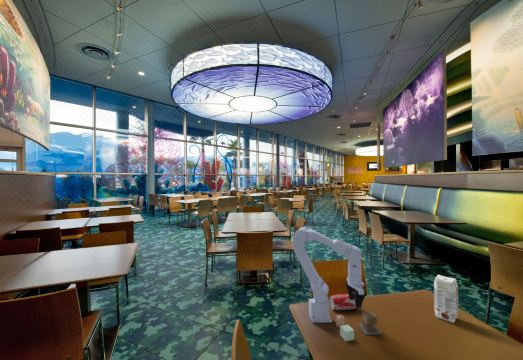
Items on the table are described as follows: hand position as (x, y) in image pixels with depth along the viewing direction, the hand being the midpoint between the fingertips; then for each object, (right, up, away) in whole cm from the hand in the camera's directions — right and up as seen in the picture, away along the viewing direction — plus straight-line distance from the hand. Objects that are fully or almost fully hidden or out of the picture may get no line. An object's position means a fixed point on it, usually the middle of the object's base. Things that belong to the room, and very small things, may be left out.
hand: (355, 303), depth 109 cm
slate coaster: (+5, -10, -4) cm, 12 cm away
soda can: (+7, -7, +15) cm, 18 cm away
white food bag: (+46, -10, +5) cm, 47 cm away
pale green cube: (-7, -10, -9) cm, 15 cm away
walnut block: (+5, -9, -4) cm, 11 cm away
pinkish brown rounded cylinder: (-7, -10, 0) cm, 12 cm away
